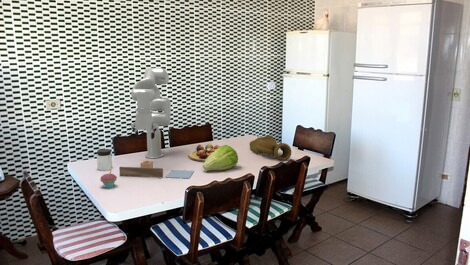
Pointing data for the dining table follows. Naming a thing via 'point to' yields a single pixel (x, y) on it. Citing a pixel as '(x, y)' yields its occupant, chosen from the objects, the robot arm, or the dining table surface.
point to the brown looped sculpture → (270, 147)
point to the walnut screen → (141, 172)
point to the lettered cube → (147, 164)
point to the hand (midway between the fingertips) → (145, 138)
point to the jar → (104, 159)
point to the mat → (180, 174)
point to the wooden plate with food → (202, 152)
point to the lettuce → (221, 159)
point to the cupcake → (108, 179)
